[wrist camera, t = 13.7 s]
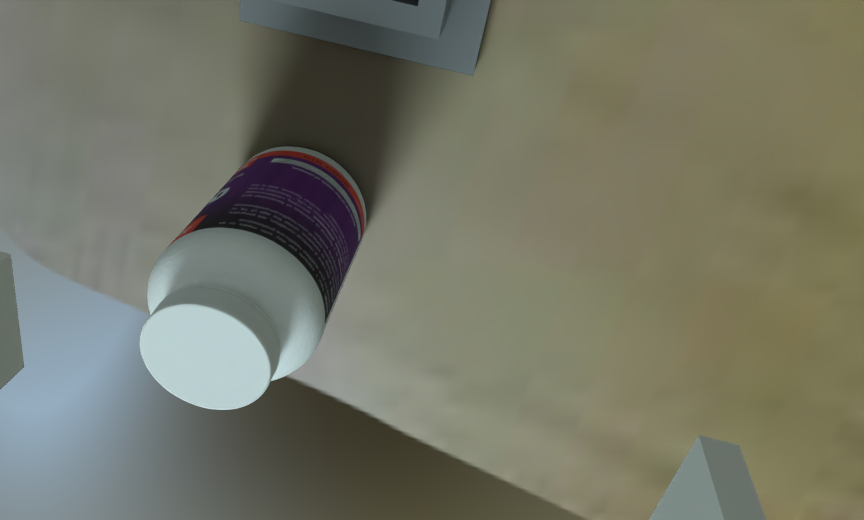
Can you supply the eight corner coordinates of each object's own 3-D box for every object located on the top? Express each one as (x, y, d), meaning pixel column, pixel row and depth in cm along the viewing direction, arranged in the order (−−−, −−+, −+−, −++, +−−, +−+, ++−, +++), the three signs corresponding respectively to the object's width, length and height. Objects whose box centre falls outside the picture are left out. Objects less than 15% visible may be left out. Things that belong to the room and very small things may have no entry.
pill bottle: (247, 120, 37) (111, 245, 25) (385, 166, 38) (318, 311, 25) (228, 241, 41) (103, 399, 29) (352, 280, 42) (281, 453, 29)
